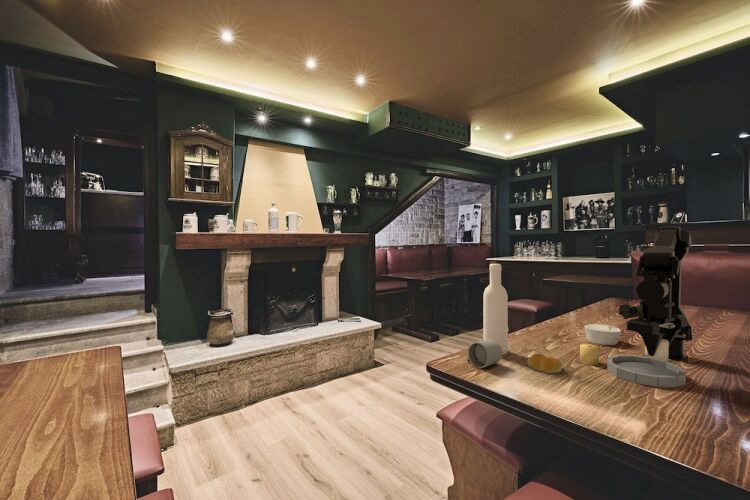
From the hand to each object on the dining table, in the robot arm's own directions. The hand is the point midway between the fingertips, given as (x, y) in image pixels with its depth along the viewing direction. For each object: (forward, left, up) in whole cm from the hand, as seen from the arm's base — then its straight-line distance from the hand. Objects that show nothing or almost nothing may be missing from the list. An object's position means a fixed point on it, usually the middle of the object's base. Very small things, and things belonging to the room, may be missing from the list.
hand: (656, 354), depth 95 cm
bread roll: (+20, -19, -7) cm, 29 cm away
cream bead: (0, 0, -1) cm, 1 cm away
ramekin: (-21, -27, -7) cm, 35 cm away
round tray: (0, -3, -7) cm, 7 cm away
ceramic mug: (+34, -31, -7) cm, 46 cm away
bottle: (+22, -37, -7) cm, 44 cm away
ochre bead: (+4, -16, -7) cm, 18 cm away
